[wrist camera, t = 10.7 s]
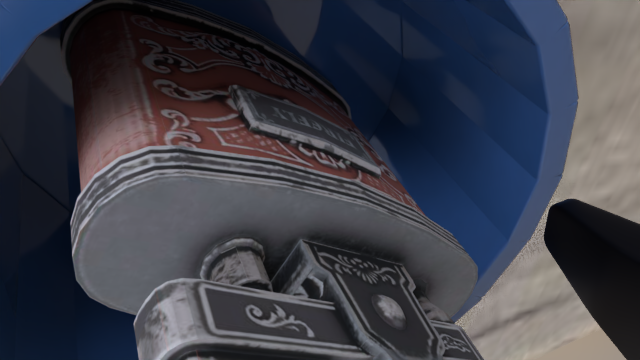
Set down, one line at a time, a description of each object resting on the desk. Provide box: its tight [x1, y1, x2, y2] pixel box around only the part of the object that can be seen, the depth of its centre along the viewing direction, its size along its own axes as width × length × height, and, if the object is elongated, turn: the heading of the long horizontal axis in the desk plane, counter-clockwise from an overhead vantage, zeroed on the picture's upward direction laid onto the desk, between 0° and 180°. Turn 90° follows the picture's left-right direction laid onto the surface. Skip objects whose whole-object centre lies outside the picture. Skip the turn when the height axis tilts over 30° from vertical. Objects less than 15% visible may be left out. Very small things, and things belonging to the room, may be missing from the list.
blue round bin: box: [0, 0, 578, 360], centre depth 13 cm, size 12×12×7 cm
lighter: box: [60, 0, 484, 360], centre depth 12 cm, size 8×3×10 cm, turn 55°
